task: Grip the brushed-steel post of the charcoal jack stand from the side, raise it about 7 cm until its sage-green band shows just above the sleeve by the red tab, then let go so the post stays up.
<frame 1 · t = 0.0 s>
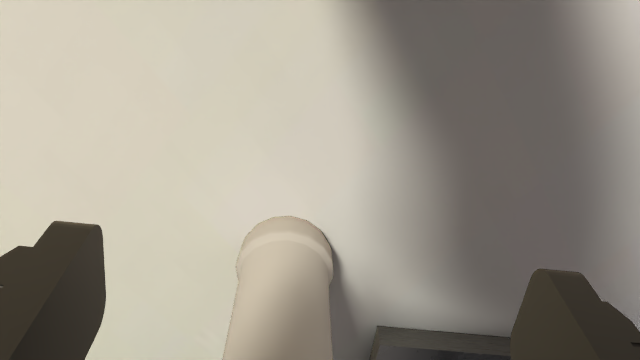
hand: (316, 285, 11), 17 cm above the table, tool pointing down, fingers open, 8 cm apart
bottle: (286, 248, 32), on the table
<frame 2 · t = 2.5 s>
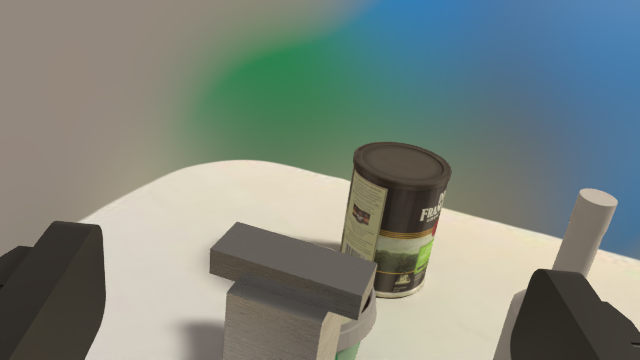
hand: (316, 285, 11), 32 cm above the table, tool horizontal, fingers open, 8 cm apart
coffee can: (379, 271, 67), on the table
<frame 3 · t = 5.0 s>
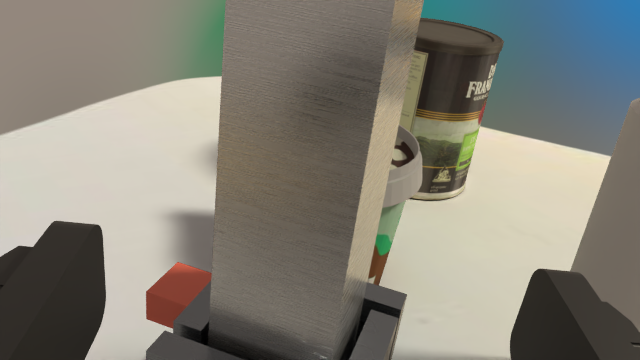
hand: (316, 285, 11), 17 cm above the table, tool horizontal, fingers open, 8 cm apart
food container: (352, 262, 42), on the table
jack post: (300, 242, 18), point 14 cm above the table, slide at 0.0 cm
coffee can: (411, 176, 56), on the table
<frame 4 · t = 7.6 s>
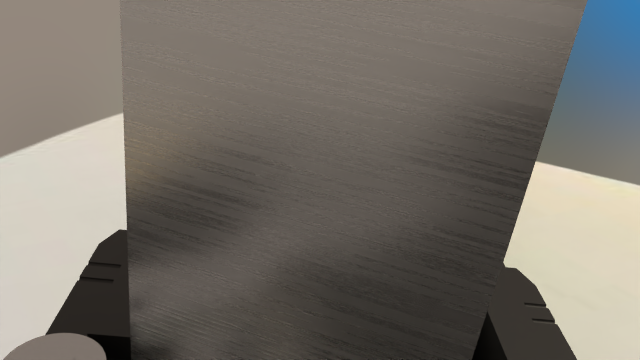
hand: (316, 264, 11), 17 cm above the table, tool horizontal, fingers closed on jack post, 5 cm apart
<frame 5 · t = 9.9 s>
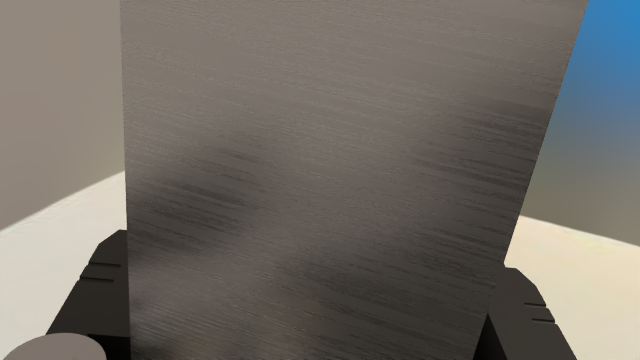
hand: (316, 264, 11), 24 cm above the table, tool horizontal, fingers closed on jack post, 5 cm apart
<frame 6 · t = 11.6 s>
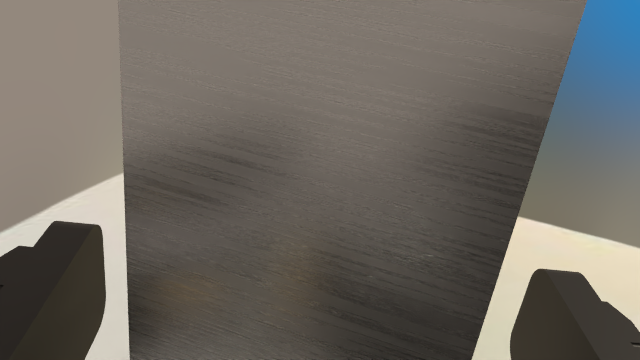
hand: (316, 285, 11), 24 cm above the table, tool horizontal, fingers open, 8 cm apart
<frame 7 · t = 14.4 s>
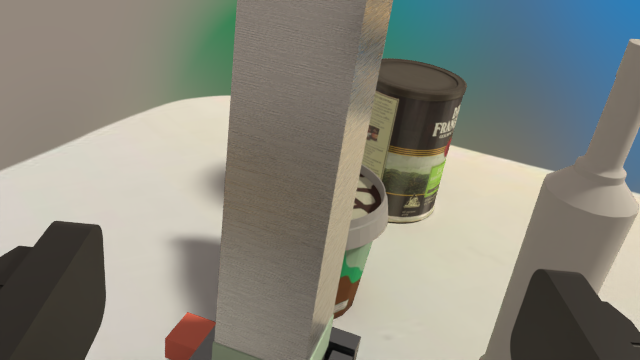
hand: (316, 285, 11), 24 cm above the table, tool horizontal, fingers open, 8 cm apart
food container: (330, 284, 49), on the table
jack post: (297, 166, 22), point 21 cm above the table, slide at 6.9 cm
coffee can: (386, 199, 63), on the table
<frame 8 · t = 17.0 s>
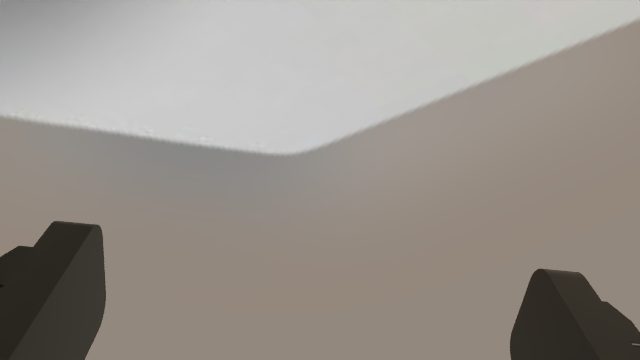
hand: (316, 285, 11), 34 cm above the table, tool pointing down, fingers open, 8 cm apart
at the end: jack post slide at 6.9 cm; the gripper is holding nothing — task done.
